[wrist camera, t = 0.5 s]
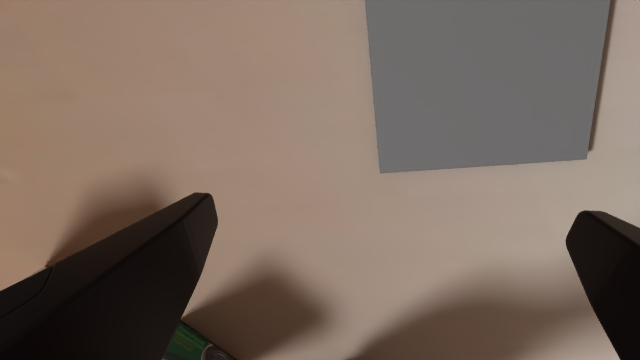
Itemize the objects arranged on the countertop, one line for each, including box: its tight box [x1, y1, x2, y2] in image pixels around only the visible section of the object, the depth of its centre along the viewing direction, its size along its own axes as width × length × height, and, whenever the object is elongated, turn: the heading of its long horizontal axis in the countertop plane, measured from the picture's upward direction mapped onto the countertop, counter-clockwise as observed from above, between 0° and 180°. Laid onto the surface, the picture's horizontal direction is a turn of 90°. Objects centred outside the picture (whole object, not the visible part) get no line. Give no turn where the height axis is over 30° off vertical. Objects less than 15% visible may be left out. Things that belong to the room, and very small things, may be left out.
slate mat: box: [365, 0, 611, 173], centre depth 19 cm, size 12×12×1 cm
